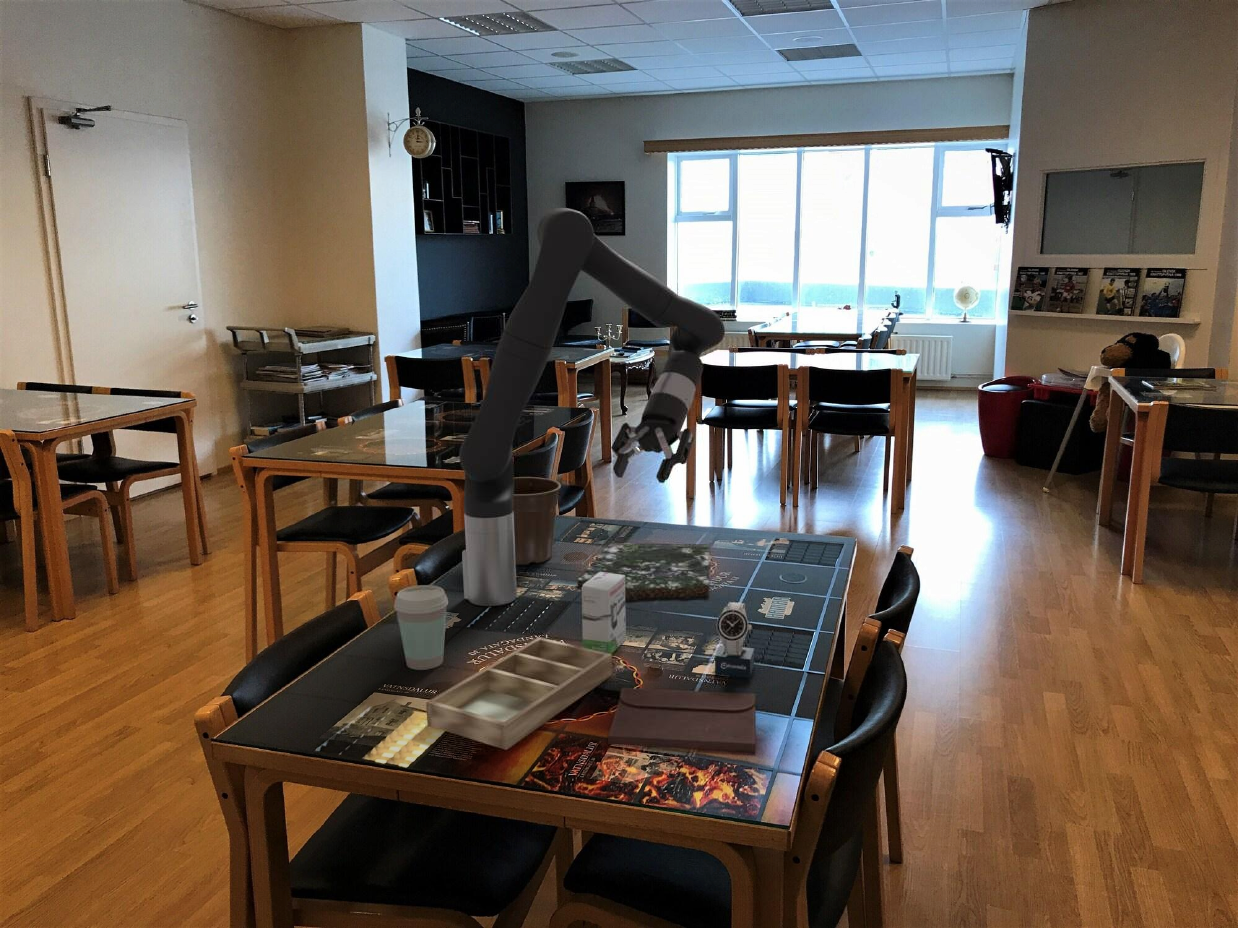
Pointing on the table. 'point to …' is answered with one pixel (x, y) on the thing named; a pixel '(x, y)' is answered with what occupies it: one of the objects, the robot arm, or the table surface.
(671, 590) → the topographical map
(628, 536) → the table surface
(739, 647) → the watch
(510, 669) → the compartment tray
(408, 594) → the coffee cup
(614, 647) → the ink box
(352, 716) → the table surface
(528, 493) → the plant pot
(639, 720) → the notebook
